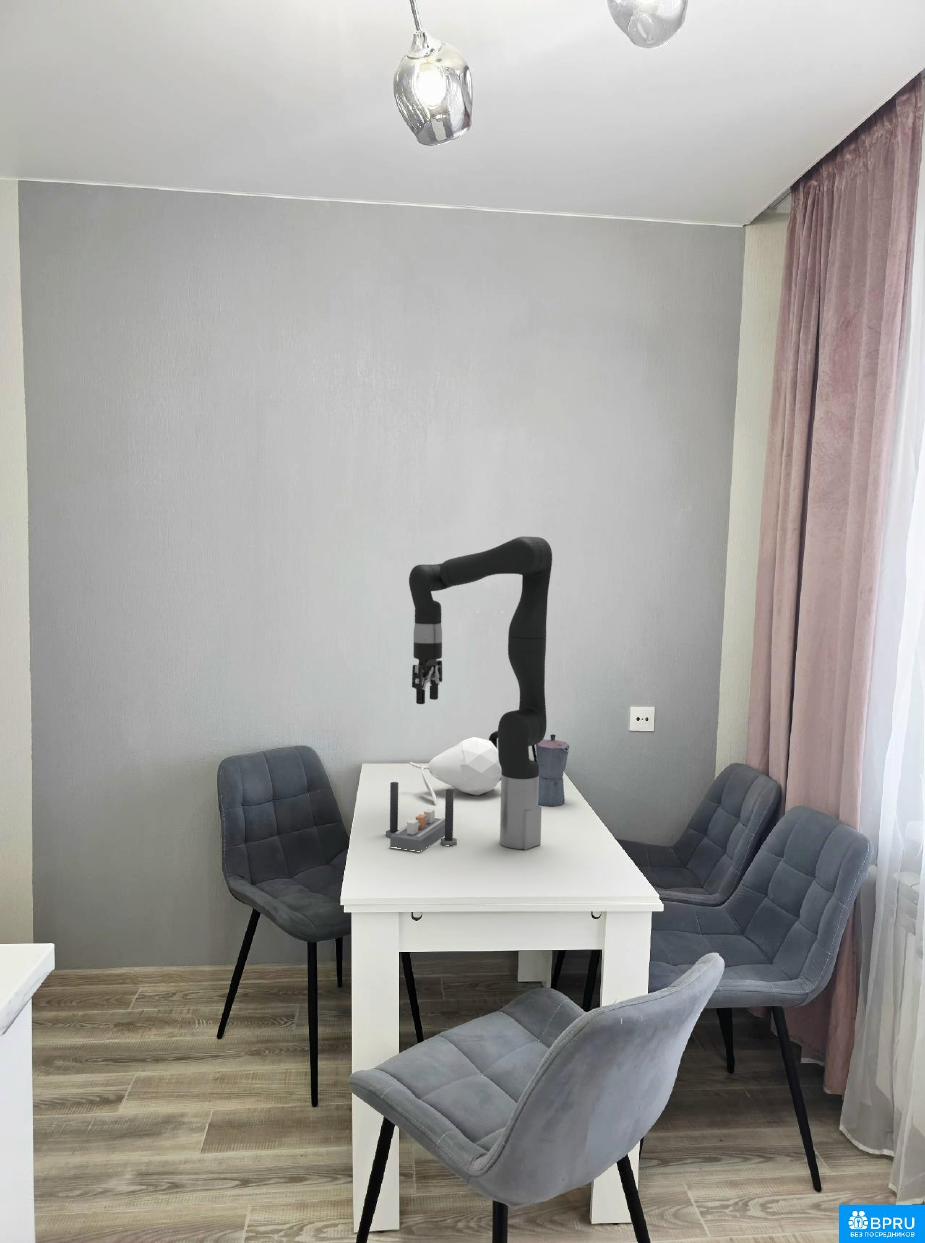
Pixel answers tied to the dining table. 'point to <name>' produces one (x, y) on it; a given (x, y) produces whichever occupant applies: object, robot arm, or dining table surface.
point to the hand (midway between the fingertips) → (427, 701)
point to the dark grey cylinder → (449, 819)
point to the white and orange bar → (420, 821)
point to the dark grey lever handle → (393, 809)
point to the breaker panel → (419, 836)
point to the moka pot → (551, 770)
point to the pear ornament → (466, 767)
